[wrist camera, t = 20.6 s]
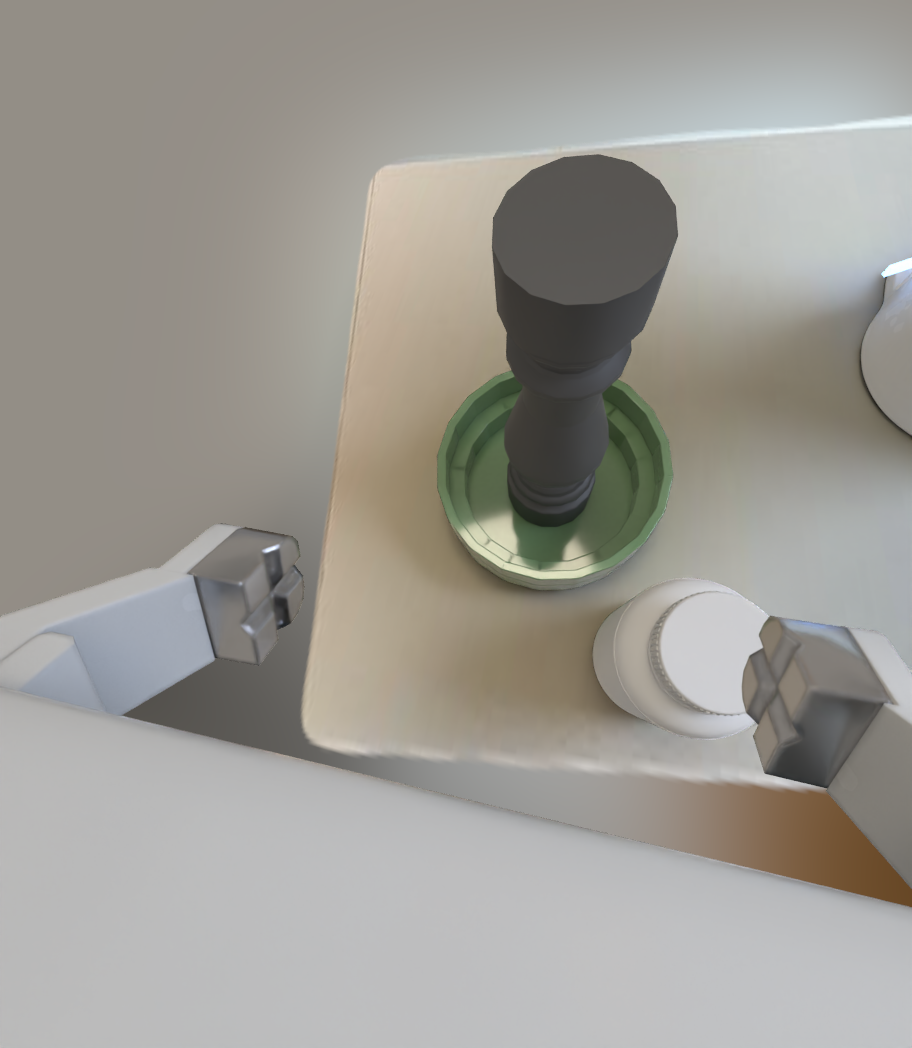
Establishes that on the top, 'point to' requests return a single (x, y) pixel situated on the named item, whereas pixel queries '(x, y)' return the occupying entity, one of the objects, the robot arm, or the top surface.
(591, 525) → the bowl
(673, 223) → the candle holder
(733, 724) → the pill bottle
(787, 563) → the top surface
